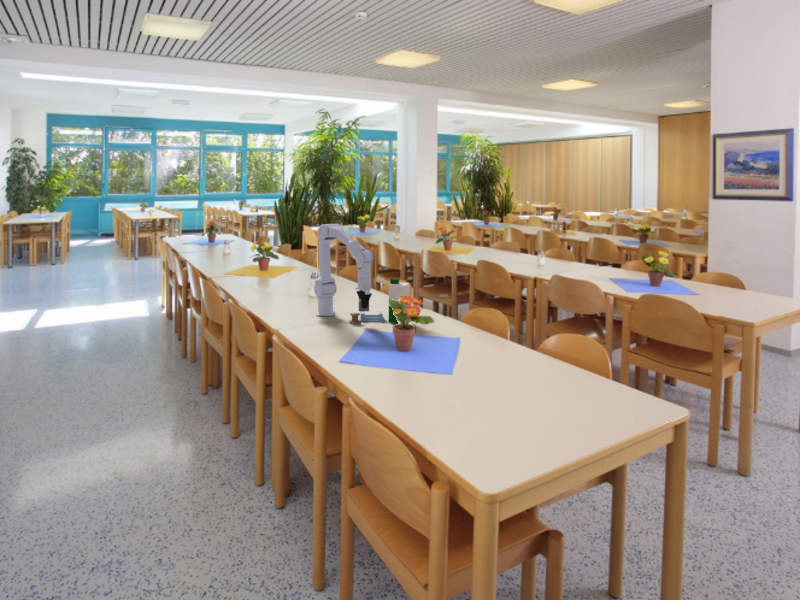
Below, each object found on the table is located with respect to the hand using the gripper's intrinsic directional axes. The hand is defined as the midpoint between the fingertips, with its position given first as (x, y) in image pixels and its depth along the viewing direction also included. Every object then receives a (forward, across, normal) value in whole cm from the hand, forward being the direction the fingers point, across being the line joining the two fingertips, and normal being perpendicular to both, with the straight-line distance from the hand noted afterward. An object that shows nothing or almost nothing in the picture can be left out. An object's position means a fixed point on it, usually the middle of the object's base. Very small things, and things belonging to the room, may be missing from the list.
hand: (363, 307), depth 254 cm
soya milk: (+8, -2, +17) cm, 19 cm away
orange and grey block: (+2, 0, 0) cm, 2 cm away
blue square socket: (+8, -8, +6) cm, 13 cm away
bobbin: (+8, -4, -3) cm, 9 cm away
